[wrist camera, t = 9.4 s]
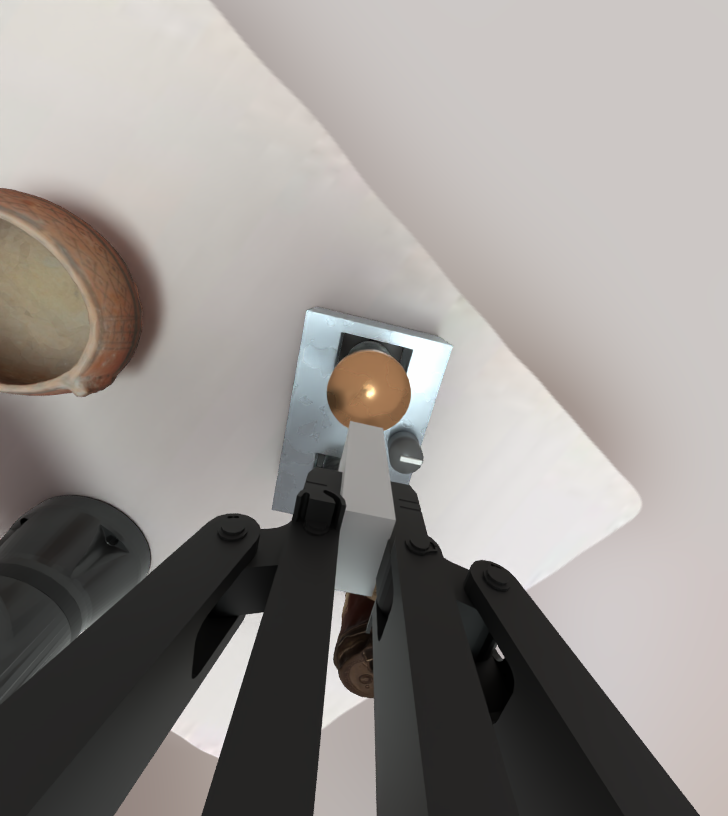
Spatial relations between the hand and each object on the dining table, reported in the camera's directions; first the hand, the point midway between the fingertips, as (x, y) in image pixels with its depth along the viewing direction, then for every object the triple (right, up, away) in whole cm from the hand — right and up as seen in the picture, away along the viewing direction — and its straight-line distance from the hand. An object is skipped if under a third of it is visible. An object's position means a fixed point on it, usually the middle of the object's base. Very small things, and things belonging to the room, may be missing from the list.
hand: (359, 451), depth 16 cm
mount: (-1, +2, +21) cm, 21 cm away
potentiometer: (+4, -1, +15) cm, 16 cm away
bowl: (-27, +13, +18) cm, 34 cm away
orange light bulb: (+1, +6, +18) cm, 19 cm away
